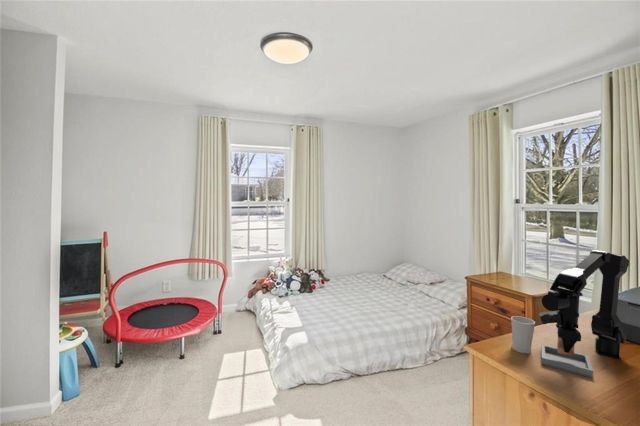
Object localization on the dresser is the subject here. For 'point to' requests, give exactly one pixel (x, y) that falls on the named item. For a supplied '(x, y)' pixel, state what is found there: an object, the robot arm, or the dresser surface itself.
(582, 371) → the tray
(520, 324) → the cup
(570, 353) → the block
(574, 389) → the dresser surface
